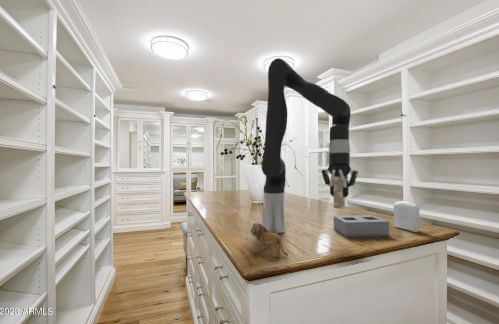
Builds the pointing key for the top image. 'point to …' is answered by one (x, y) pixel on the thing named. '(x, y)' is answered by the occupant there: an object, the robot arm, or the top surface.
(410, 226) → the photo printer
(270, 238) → the lion figurine
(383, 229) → the hole block
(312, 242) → the top surface
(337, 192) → the pin
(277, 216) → the robot arm
